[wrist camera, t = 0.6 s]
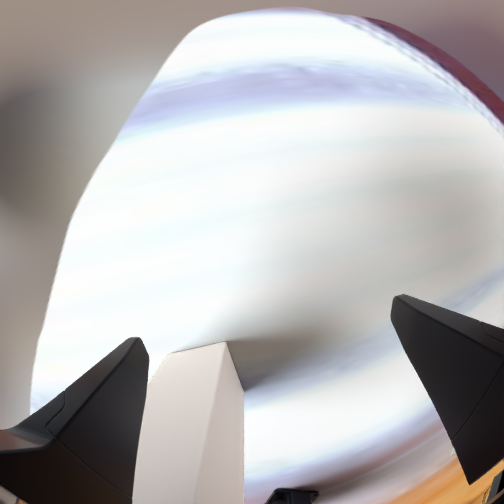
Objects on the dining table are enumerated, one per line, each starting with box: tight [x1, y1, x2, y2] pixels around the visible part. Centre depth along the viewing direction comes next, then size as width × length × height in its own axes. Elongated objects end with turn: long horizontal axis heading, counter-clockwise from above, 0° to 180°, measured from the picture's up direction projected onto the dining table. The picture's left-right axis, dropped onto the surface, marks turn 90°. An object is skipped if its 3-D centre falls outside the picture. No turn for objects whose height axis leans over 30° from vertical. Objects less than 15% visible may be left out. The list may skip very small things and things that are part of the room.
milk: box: [132, 342, 244, 504], centre depth 13 cm, size 6×6×22 cm
